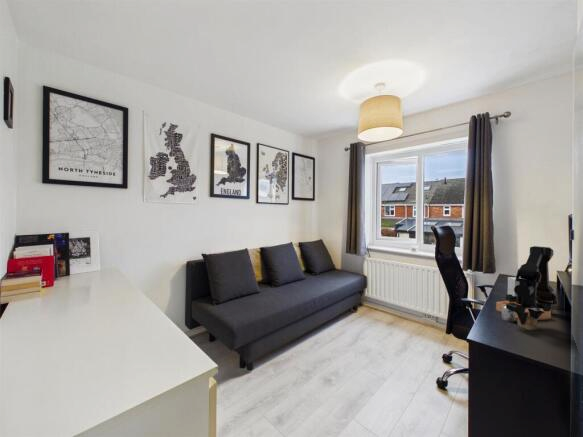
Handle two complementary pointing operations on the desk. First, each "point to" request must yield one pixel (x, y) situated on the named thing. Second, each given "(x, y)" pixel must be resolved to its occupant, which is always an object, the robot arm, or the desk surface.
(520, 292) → the robot arm
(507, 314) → the grey cylinder
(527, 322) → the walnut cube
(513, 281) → the supplement box
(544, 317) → the tote
